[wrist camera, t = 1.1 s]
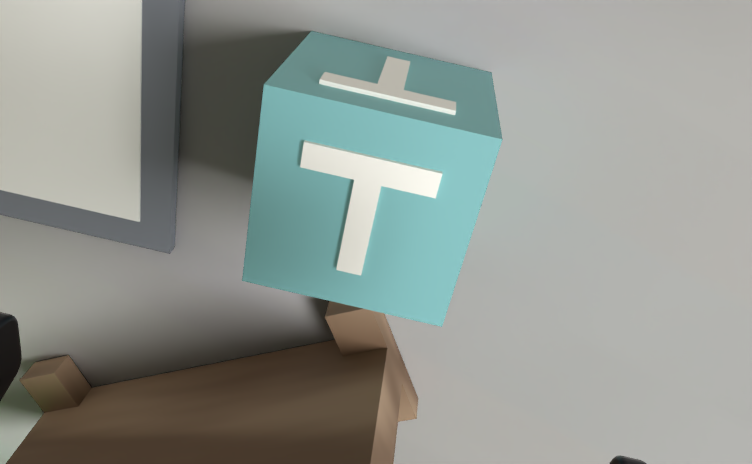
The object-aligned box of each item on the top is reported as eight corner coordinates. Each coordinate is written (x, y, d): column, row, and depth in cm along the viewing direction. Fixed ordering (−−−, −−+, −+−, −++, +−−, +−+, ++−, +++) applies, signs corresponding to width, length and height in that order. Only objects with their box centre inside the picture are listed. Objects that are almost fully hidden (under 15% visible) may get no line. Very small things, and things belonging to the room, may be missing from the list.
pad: (174, 247, 21) (169, 254, 21) (-90, 186, 21) (-100, 192, 21) (186, -38, 17) (179, -35, 16) (-150, -115, 17) (-165, -115, 16)
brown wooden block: (417, 398, 23) (403, 583, 17) (100, 451, 27) (-4, 620, 21) (374, 289, 21) (341, 457, 15) (34, 362, 25) (-103, 522, 19)
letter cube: (445, 226, 20) (441, 329, 15) (289, 190, 20) (241, 283, 15) (492, 68, 17) (504, 136, 13) (312, 26, 17) (262, 81, 13)
